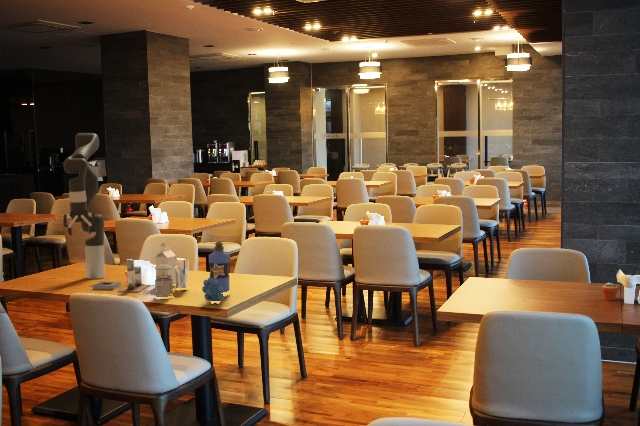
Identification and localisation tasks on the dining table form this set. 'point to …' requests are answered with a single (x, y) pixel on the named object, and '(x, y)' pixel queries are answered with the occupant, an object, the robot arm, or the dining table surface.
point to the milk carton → (169, 260)
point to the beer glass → (181, 272)
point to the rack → (136, 290)
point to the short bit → (138, 276)
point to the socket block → (106, 285)
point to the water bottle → (220, 266)
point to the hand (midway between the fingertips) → (80, 234)
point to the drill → (130, 274)
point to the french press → (166, 285)
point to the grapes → (212, 290)
